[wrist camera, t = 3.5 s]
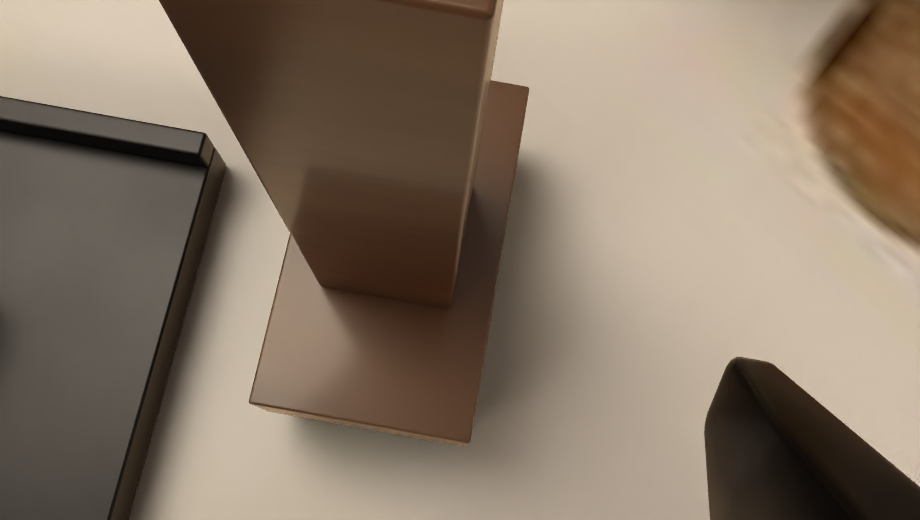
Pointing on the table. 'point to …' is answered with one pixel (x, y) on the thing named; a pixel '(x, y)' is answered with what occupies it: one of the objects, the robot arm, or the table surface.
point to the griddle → (91, 299)
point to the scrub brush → (371, 196)
